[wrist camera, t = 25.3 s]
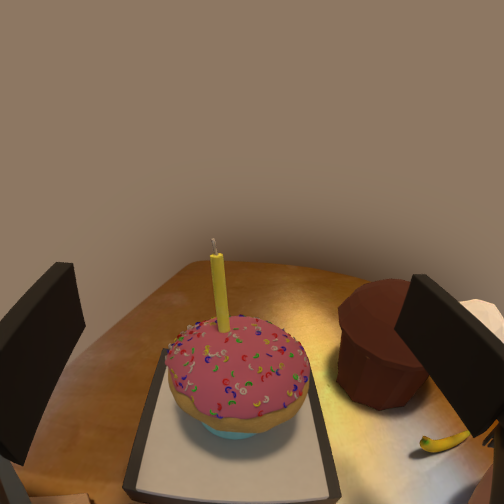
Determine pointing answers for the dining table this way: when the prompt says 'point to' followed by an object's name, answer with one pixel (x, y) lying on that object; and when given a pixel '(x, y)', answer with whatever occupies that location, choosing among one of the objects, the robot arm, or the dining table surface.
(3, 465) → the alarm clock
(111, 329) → the dining table surface
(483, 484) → the mortar and pestle
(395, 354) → the muffin
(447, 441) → the fruit
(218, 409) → the cupcake
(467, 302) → the white geodesic ball
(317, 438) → the scale
